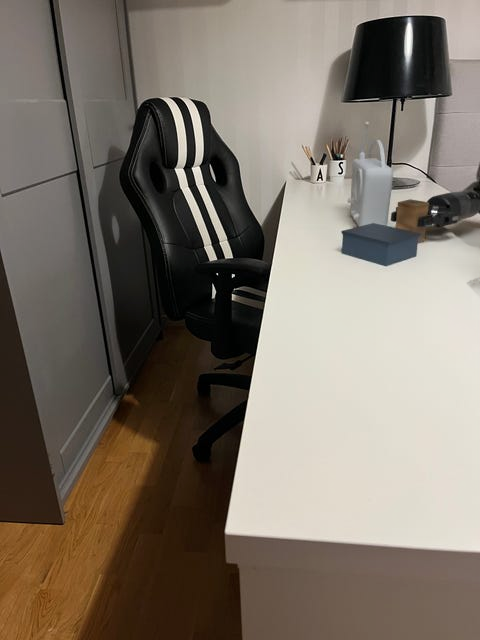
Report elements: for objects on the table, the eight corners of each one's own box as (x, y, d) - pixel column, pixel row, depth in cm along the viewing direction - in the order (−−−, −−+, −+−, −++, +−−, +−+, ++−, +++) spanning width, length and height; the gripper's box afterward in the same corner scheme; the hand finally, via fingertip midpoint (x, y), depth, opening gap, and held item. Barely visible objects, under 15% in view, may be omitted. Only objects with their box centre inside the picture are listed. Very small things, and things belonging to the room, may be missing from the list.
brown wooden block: (424, 241, 116) (429, 202, 112) (412, 245, 114) (416, 205, 110) (405, 237, 120) (410, 199, 116) (393, 240, 117) (397, 202, 114)
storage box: (417, 256, 106) (420, 233, 104) (386, 266, 100) (388, 242, 98) (371, 244, 115) (373, 222, 113) (340, 253, 110) (341, 230, 107)
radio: (343, 213, 144) (348, 120, 134) (372, 213, 144) (380, 120, 133) (355, 233, 124) (362, 125, 114) (389, 232, 124) (399, 124, 114)
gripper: (424, 189, 126) (381, 198, 117) (478, 197, 115) (435, 208, 106) (420, 219, 129) (378, 230, 120) (472, 229, 118) (431, 242, 110)
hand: (405, 219), depth 113 cm, fingers open, 6 cm apart
